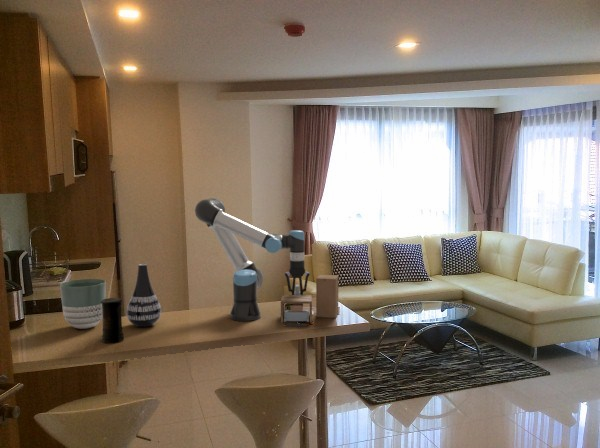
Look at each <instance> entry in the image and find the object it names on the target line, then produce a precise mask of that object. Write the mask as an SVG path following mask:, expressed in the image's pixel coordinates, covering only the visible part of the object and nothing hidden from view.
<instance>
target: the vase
mask: <svg viewBox="0 0 600 448" xmlns="http://www.w3.org/2000/svg"><path fill="white" fill-rule="evenodd" d="M135 282H136V283H135V285H134V289H133V291H132V295H131V297H130V299H129V301H128V304H127V307H126V317H127V320H128V321H129V322H130V323H131V325H133V326H135V327H137V328H140V329H141V328H143V329H144V328H149V327H152V326H153V325H154V324H156V323H157V322H158V321H159V319H160V317H161V315H162V307H161V303H160V301H159V299H158V297H157V295H156V294H155V291H154V288H153V286H152V284H151V283H152V282H151V280H150V275H149V271H148V265H147V264H145V263H139V264H138V266H137V276H136V281H135Z"/></svg>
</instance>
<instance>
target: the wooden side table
mask: <svg viewBox="0 0 600 448" xmlns="http://www.w3.org/2000/svg"><path fill="white" fill-rule="evenodd" d="M286 304H290V305H291V304H303V305H305V304H309V323H310V324H312V323H313V315H312V310H313V307H312V306H313V295H312V294H303V295H292V294H282V296H281V299H280V323H281V324H283V323H284V312H285V305H286Z"/></svg>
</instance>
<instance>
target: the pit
mask: <svg viewBox="0 0 600 448" xmlns="http://www.w3.org/2000/svg"><path fill="white" fill-rule="evenodd" d="M301 323H302V322H301ZM301 323H300V322H298V323H296V322H295V323H293V322H292V323H291V322H290V323H287V322H285V327H287V328H288V327H291V328H294V327H297V328H300V327H301V328H303V327H306V328H307V326H308V325H307V324H308V322H306V324H301Z"/></svg>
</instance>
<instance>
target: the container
mask: <svg viewBox="0 0 600 448" xmlns="http://www.w3.org/2000/svg"><path fill="white" fill-rule="evenodd" d="M101 303H102V308H103V309H102V315H103V318H102V336H101V342H102V344H107V345H108V344H117V343H118V344H119V343H121V342H123V341H124V333H123V326H122V325H123V323H122V322H123V321H122V298H121V297H108V298H106V299H103V300H102V301H101Z"/></svg>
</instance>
